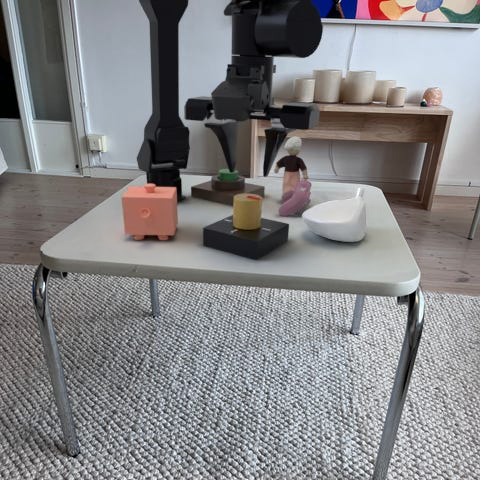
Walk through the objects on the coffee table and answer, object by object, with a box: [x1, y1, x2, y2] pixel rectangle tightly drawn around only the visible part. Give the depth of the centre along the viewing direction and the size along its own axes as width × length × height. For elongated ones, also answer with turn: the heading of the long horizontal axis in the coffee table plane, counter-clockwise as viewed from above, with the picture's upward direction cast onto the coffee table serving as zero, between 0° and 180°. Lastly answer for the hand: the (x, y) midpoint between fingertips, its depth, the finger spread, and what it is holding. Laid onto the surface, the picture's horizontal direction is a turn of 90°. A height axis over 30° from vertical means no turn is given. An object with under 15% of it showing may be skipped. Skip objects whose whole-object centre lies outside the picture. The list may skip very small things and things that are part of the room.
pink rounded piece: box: [278, 179, 313, 217], centre depth 92 cm, size 10×5×7 cm, turn 172°
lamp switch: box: [218, 168, 239, 181], centre depth 99 cm, size 4×4×2 cm
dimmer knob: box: [232, 194, 263, 230], centre depth 74 cm, size 4×4×5 cm
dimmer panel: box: [202, 214, 290, 261], centre depth 76 cm, size 10×10×3 cm
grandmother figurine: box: [273, 135, 309, 204], centre depth 95 cm, size 8×4×13 cm, turn 66°
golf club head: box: [301, 187, 367, 243], centre depth 80 cm, size 10×11×12 cm
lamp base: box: [190, 174, 266, 207], centre depth 100 cm, size 12×10×4 cm
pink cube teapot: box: [121, 183, 179, 241], centre depth 77 cm, size 8×12×8 cm, turn 1°
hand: (248, 174), depth 72 cm, fingers open, 5 cm apart
